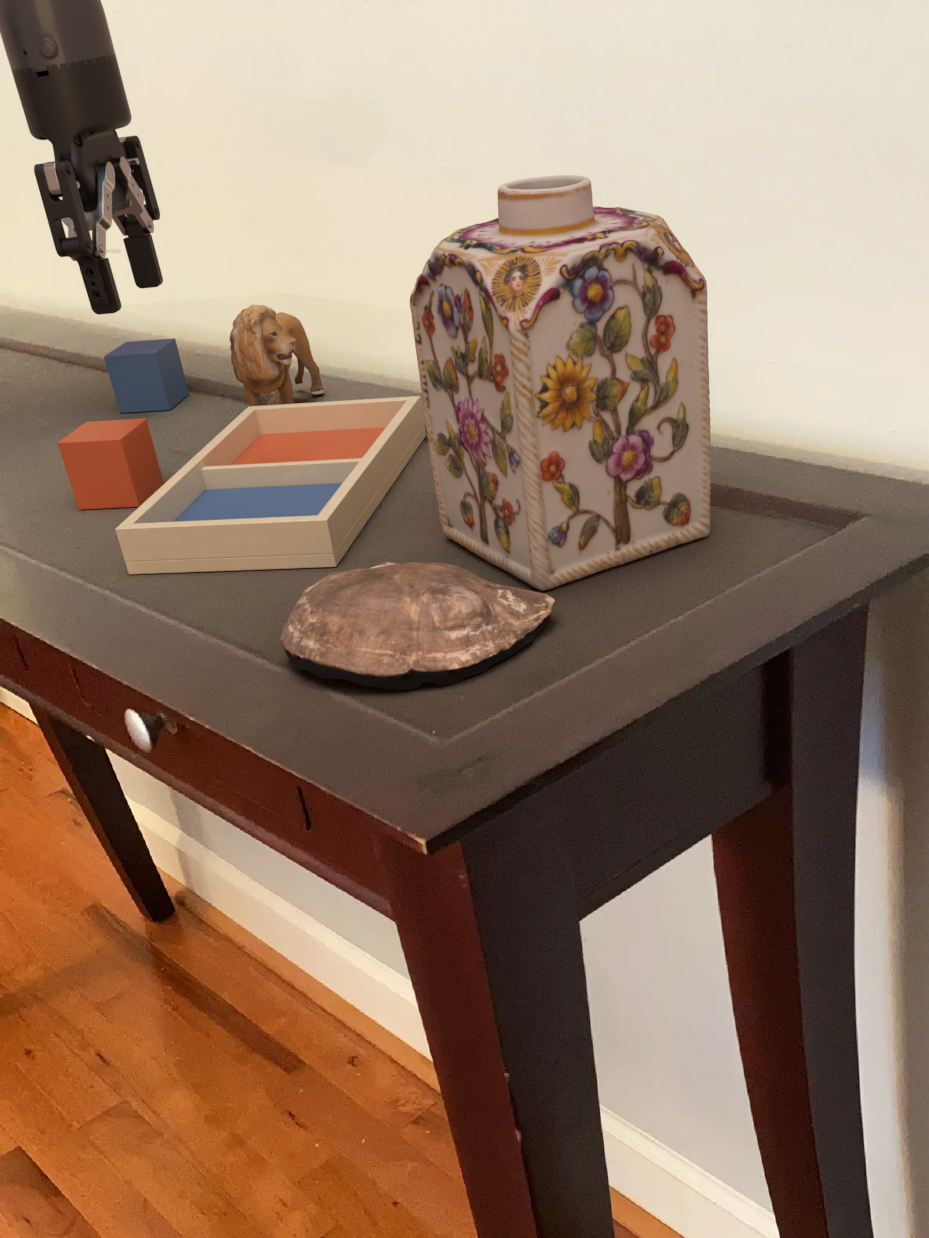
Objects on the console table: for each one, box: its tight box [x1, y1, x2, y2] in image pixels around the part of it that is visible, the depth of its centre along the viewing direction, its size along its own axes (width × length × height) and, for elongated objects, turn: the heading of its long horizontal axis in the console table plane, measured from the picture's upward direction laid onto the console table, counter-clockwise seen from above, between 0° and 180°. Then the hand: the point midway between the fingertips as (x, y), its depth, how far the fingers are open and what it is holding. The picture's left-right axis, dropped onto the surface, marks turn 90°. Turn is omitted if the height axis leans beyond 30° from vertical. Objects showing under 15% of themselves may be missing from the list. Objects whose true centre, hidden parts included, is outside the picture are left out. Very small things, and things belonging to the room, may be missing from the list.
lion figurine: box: [229, 304, 325, 407], centre depth 97 cm, size 15×5×9 cm, turn 2°
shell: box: [279, 561, 556, 691], centre depth 63 cm, size 12×13×4 cm
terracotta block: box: [57, 418, 165, 511], centre depth 87 cm, size 4×4×4 cm
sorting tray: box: [115, 395, 427, 575], centre depth 83 cm, size 13×24×3 cm, turn 171°
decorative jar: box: [409, 174, 712, 592], centre depth 68 cm, size 12×12×18 cm
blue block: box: [103, 337, 190, 414], centre depth 106 cm, size 4×4×4 cm
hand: (130, 299), depth 102 cm, fingers open, 8 cm apart
